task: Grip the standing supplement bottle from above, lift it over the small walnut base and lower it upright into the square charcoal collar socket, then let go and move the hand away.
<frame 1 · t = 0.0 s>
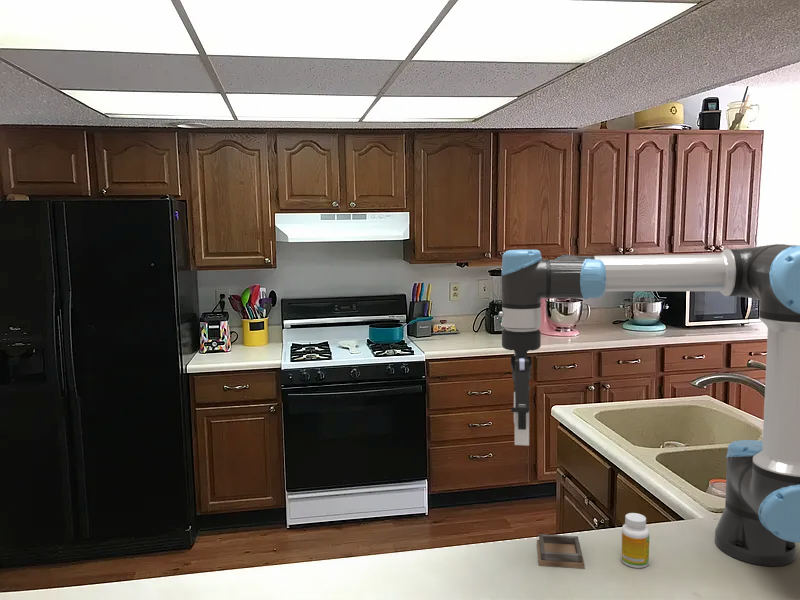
hand: (521, 433, 127), 28 cm above the worktop, tool pointing down, fingers open, 13 cm apart
supplement bottle: (634, 562, 131), on the worktop
socket board: (559, 555, 133), on the worktop
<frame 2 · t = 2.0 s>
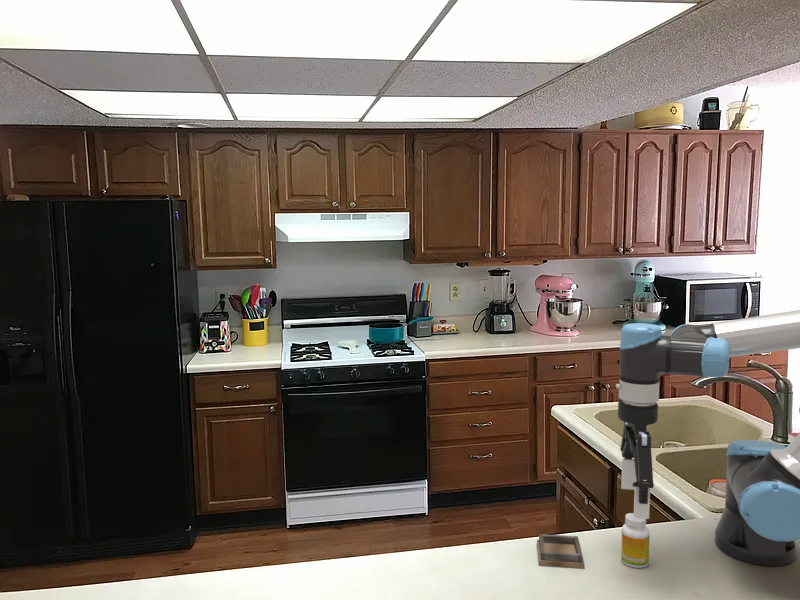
hand: (634, 502, 129), 13 cm above the worktop, tool pointing down, fingers open, 13 cm apart
nothing on the worktop moved.
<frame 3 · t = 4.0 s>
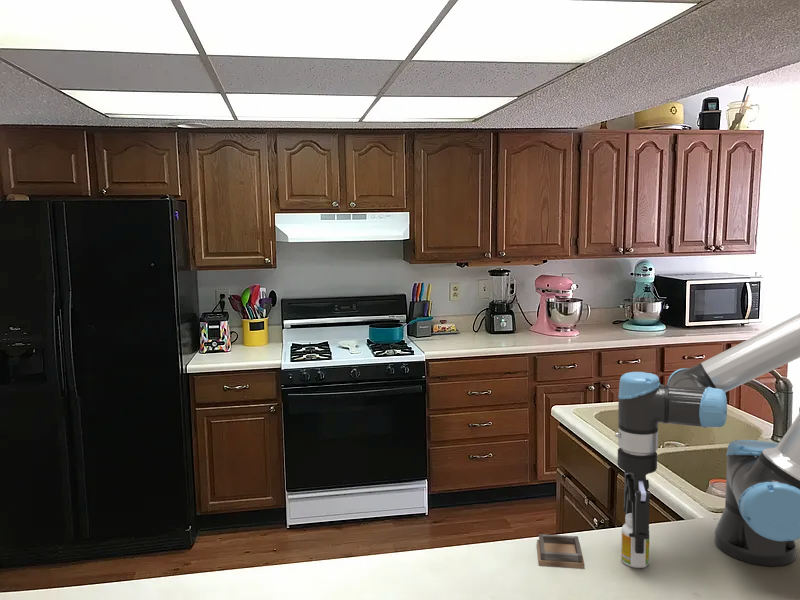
hand: (634, 558, 130), 1 cm above the worktop, tool pointing down, fingers closed on supplement bottle, 5 cm apart
supplement bottle: (634, 562, 131), on the worktop, touching gripper
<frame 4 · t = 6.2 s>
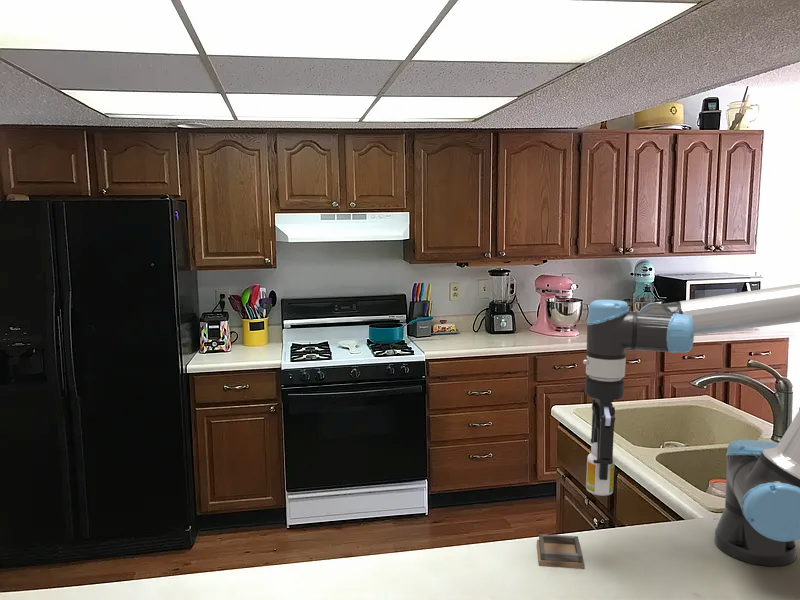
hand: (599, 486, 130), 16 cm above the worktop, tool pointing down, fingers closed on supplement bottle, 5 cm apart
supplement bottle: (599, 491, 130), point 15 cm above the worktop, touching gripper
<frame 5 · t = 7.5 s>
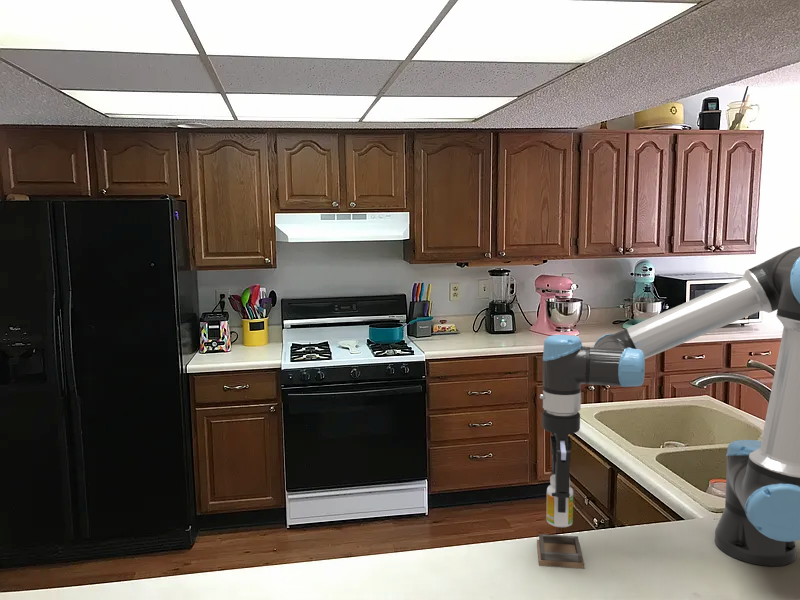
hand: (559, 518, 133), 8 cm above the worktop, tool pointing down, fingers closed on supplement bottle, 5 cm apart
supplement bottle: (559, 522, 133), point 7 cm above the worktop, touching gripper
when the fingers open (4 cm above the worktop, at t = 8.6 s): supplement bottle drops 2 cm, resting on socket board.
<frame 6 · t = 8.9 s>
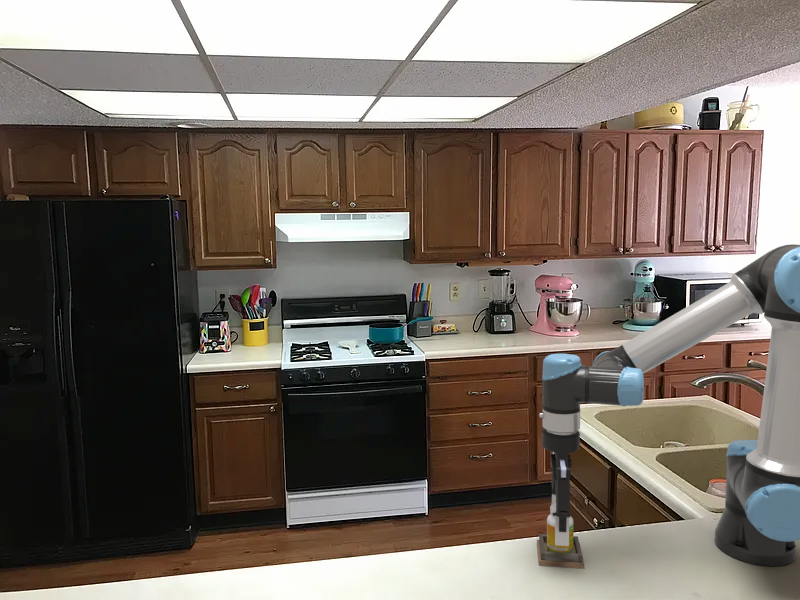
hand: (560, 533, 133), 5 cm above the worktop, tool pointing down, fingers open, 8 cm apart
supplement bottle: (560, 552, 133), point 1 cm above the worktop, touching socket board
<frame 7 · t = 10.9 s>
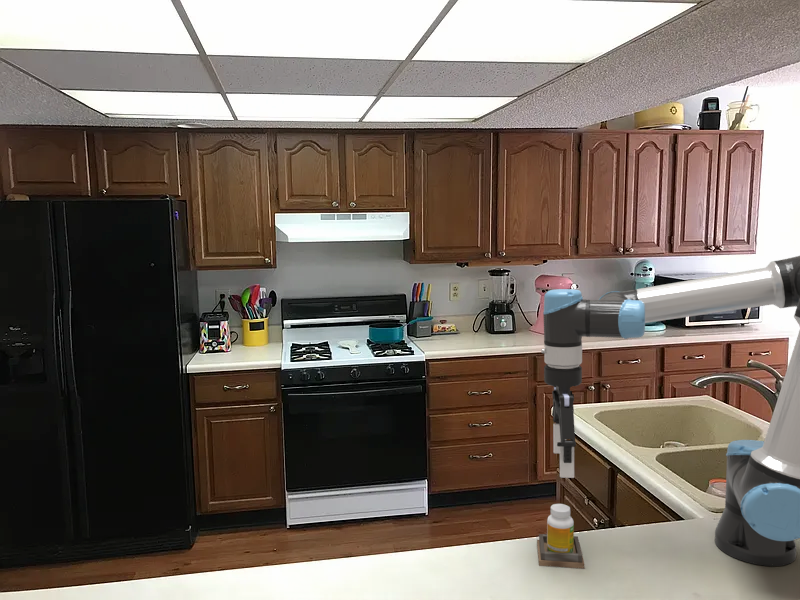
hand: (563, 464, 133), 19 cm above the worktop, tool pointing down, fingers open, 13 cm apart
nothing on the worktop moved.
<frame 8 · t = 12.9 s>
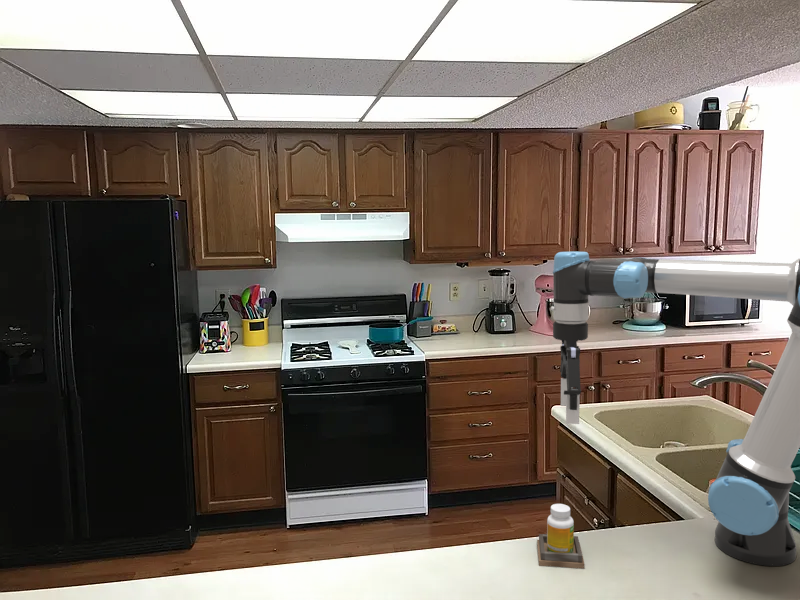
hand: (569, 414, 143), 27 cm above the worktop, tool pointing down, fingers open, 13 cm apart
nothing on the worktop moved.
at the end: supplement bottle 0.2 cm off-centre on the socket board, point 0.8 cm above the socket board's base; supplement bottle tilted 0°; the gripper is holding nothing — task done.
